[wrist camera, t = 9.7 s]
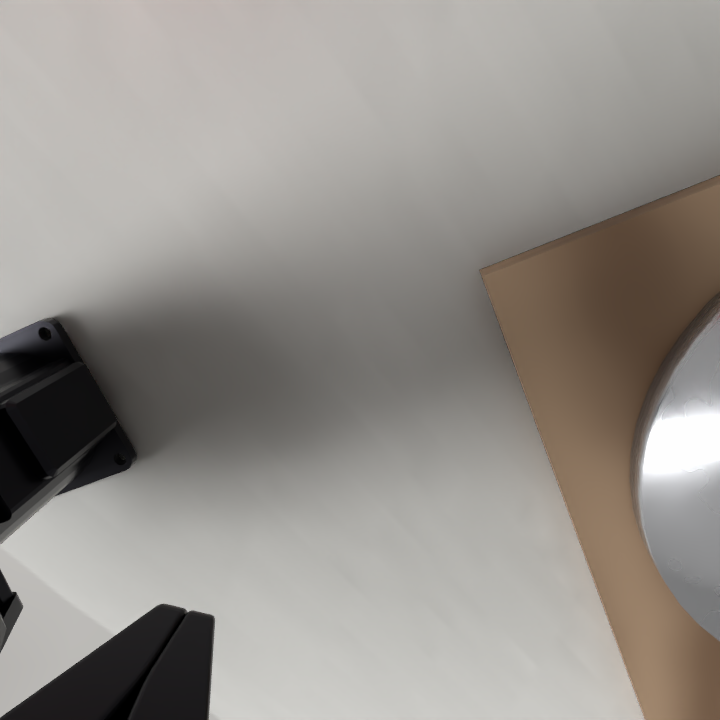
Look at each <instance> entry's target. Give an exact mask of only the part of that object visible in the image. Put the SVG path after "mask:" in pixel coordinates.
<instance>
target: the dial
mask: <svg viewBox="0 0 720 720" xmlns="http://www.w3.org/2000/svg"><path fill="white" fill-rule="evenodd" d="M629 483H630V491H631V500H632V508H633V512H634V516H635V519H636V523H637V526H638V530H639V533H640V536H641V538H642V540H643V542H644V545H645V547H646V549H647V551H648V553H649V555H650V557H651V559H652V561H653V563H654V564H655V566H656V568H657V570H658V571H659V573H660V575H661V577H662V578H663V580H664V582H665V583H666V585H667V586H668V588H669V589H670V591H671V592H672V593H673V595H674V596H675V598H676V599H677V601H678V602H679V604H680V605H681V606H682V607H683V608H684V609H685V610H686V611H687V613H688V614H689V615H690V616H691V617H692V618H693V619H694V620H695V621H696V622H697V623H698V624H699V625H700V626H701V627H702V628H703V629H705V630H706V631H707V632H708V633H710V634H711V635H712V636H714V637H715V638H716V639H717V640H719V641H720V291H719V292H718V293H717V294H716V295H715V296H714V297H713V298H712V299H711V300H710V301H708V303H707V304H706V305H705V306H704V307H703V308H702V309H701V311H700V312H699V313H698V314H697V315H696V316H695V318H694V319H693V320H692V321H691V322H690V323H689V325H688V326H687V327H686V328H685V329H684V330H683V332H682V333H681V335H680V336H679V338H678V339H677V341H676V342H675V343H674V345H673V346H672V348H671V349H670V351H669V352H668V354H667V355H666V357H665V358H664V360H663V361H662V363H661V365H660V367H659V369H658V371H657V373H656V375H655V377H654V379H653V381H652V383H651V385H650V387H649V389H648V391H647V393H646V396H645V399H644V402H643V405H642V408H641V411H640V414H639V416H638V419H637V422H636V427H635V432H634V437H633V442H632V448H631V453H630V479H629Z"/></svg>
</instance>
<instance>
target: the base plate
mask: <svg viewBox="0 0 720 720" xmlns="http://www.w3.org/2000/svg"><path fill="white" fill-rule="evenodd" d="M479 271H480V273H481V276H482V279H483V282H484V284H485V287H486V290H487V292H488V295H489V298H490V301H491V303H492V306H493V309H494V311H495V314H496V317H497V320H498V322H499V325H500V328H501V330H502V333H503V336H504V338H505V341H506V344H507V347H508V349H509V352H510V355H511V357H512V360H513V363H514V366H515V368H516V371H517V374H518V376H519V379H520V382H521V385H522V387H523V390H524V393H525V395H526V398H527V401H528V404H529V406H530V409H531V412H532V414H533V417H534V420H535V423H536V425H537V428H538V431H539V433H540V436H541V439H542V442H543V444H544V447H545V450H546V452H547V455H548V458H549V461H550V463H551V466H552V469H553V471H554V474H555V477H556V480H557V482H558V485H559V488H560V490H561V493H562V496H563V499H564V501H565V504H566V507H567V509H568V512H569V515H570V518H571V520H572V523H573V526H574V528H575V531H576V534H577V536H578V539H579V542H580V545H581V547H582V550H583V553H584V555H585V558H586V561H587V564H588V566H589V569H590V572H591V574H592V577H593V580H594V583H595V585H596V588H597V591H598V593H599V596H600V599H601V602H602V604H603V607H604V610H605V612H606V615H607V618H608V621H609V623H610V626H611V629H612V631H613V634H614V637H615V640H616V642H617V645H618V648H619V650H620V653H621V656H622V659H623V661H624V664H625V667H626V669H627V672H628V675H629V678H630V680H631V683H632V686H633V688H634V691H635V694H636V697H637V699H638V702H639V705H640V707H641V710H642V713H643V716H644V718H645V720H720V641H719V640H717V639H716V638H715V637H714V636H712V635H711V634H710V633H708V632H707V631H706V630H705V629H703V628H702V627H701V626H700V625H699V624H698V623H697V622H696V621H695V620H694V619H693V618H692V617H691V616H690V615H689V614H688V613H687V611H686V610H685V609H684V608H683V607H682V606H681V605H680V604H679V602H678V601H677V599H676V598H675V596H674V595H673V593H672V592H671V591H670V589H669V588H668V586H667V585H666V583H665V582H664V580H663V578H662V577H661V575H660V573H659V571H658V570H657V568H656V566H655V564H654V563H653V561H652V559H651V557H650V555H649V553H648V551H647V549H646V547H645V545H644V542H643V540H642V538H641V536H640V533H639V530H638V526H637V523H636V519H635V516H634V512H633V508H632V500H631V491H630V483H629V479H630V453H631V448H632V442H633V437H634V432H635V427H636V422H637V419H638V416H639V414H640V411H641V408H642V405H643V402H644V399H645V396H646V393H647V391H648V389H649V387H650V385H651V383H652V381H653V379H654V377H655V375H656V373H657V371H658V369H659V367H660V365H661V363H662V361H663V360H664V358H665V357H666V355H667V354H668V352H669V351H670V349H671V348H672V346H673V345H674V343H675V342H676V341H677V339H678V338H679V336H680V335H681V333H682V332H683V330H684V329H685V328H686V327H687V326H688V325H689V323H690V322H691V321H692V320H693V319H694V318H695V316H696V315H697V314H698V313H699V312H700V311H701V309H702V308H703V307H704V306H705V305H706V304H707V303H708V301H710V300H711V299H712V298H713V297H714V296H715V295H716V294H717V293H718V292H719V291H720V175H719V176H716V177H714V178H711V179H709V180H706V181H704V182H701V183H699V184H696V185H694V186H691V187H688V188H686V189H683V190H681V191H678V192H676V193H673V194H671V195H668V196H666V197H663V198H661V199H658V200H656V201H653V202H650V203H648V204H645V205H643V206H640V207H638V208H635V209H633V210H630V211H628V212H625V213H623V214H620V215H617V216H615V217H612V218H610V219H607V220H605V221H602V222H600V223H597V224H595V225H592V226H590V227H587V228H585V229H582V230H579V231H577V232H574V233H572V234H569V235H567V236H564V237H562V238H559V239H557V240H554V241H552V242H549V243H547V244H544V245H541V246H539V247H536V248H534V249H531V250H529V251H526V252H524V253H521V254H519V255H516V256H514V257H511V258H508V259H506V260H503V261H501V262H498V263H496V264H493V265H491V266H488V267H486V268H483V269H481V270H479Z"/></svg>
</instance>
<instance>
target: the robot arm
mask: <svg viewBox="0 0 720 720" xmlns="http://www.w3.org/2000/svg"><path fill="white" fill-rule="evenodd" d="M45 328H47V329H49V330H50V332H51V337H49V336H48V335H47V334H46V332H45ZM119 454H122V455H123V456H124V457H125V459H126V460H123V459H121V458H120V457H119ZM136 458H137V455H136V452H135V450H134V448H133V446H132V445H131V443H130V441H129V439H128V438H127V436H126V434H125V433H124V431H123V429H122V428H121V426H120V424H119V422H118V421H117V418H116V416H115V414H114V413H113V411H112V409H111V408H110V406H109V404H108V402H107V401H106V399H105V397H104V396H103V394H102V392H101V391H100V389H99V387H98V385H97V384H96V382H95V380H94V379H93V377H92V375H91V373H90V372H89V370H88V368H87V367H86V365H85V364H84V363H83V361H82V359H81V358H80V356H79V354H78V352H77V351H76V349H75V347H74V346H73V344H72V342H71V340H70V339H69V337H68V335H67V334H66V332H65V330H64V328H63V327H62V325H61V324H60V323H59V322H58V321H56V320H55V319H51V318H47V319H43V320H41V321H38V322H36V323H34V324H31V325H29V326H27V327H25V328H23V329H20V330H18V331H16V332H14V333H12V334H9V335H7V336H5V337H3V338H1V339H0V544H1V543H3V542H4V541H5V540H6V539H7V538H8V537H9V536H10V535H12V534H13V533H14V532H15V531H16V530H17V529H18V528H19V527H21V526H22V525H23V524H24V523H25V522H26V521H27V520H28V519H30V518H31V517H32V516H33V515H34V514H35V513H36V512H37V511H39V510H40V509H41V508H42V507H43V506H44V505H45V504H46V503H48V502H49V501H50V500H51V499H52V498H53V497H54V496H57V495H59V494H62V493H65V492H68V491H70V490H73V489H76V488H79V487H81V486H84V485H87V484H90V483H92V482H95V481H98V480H100V479H103V478H106V477H109V476H111V475H114V474H117V473H120V472H122V471H125V470H127V469H129V468H130V467H131V466H132V465H133V464H134V463H135V461H136ZM22 609H23V605H22V603H21V601H20V599H19V597H18V595H17V593H16V592H12V591H11V589H10V587H9V585H8V583H7V582H6V579H5V577H4V575H3V574H2V572H1V570H0V652H1V650H2V649H3V647H4V645H5V643H6V641H7V639H8V636H9V635H10V632H11V630H12V629H13V626H14V625H15V622H16V621H17V619H18V617H19V615H20V613H21V611H22ZM214 629H215V618H214V616H213V615H210V614H205V613H201V612H197V611H189V612H188V613H187V611H186V609H184V608H180V607H176V606H172V605H168V604H160V605H158V606H156V607H155V608H153V609H152V610H151V611H149V612H148V613H146V614H145V615H144V616H142V617H141V618H139V619H138V620H137V621H135V622H134V623H132V624H131V625H130V626H128V627H127V628H125V629H124V630H123V631H121V632H120V633H118V634H117V635H116V636H114V637H113V638H111V639H110V640H109V641H107V642H106V643H104V644H103V645H102V646H100V647H99V648H97V649H96V650H94V651H93V652H92V653H90V654H89V655H88V656H86V657H85V658H83V659H82V660H80V661H79V662H78V663H76V664H75V665H73V666H72V667H71V668H69V669H68V670H66V671H65V672H64V673H62V674H61V675H60V676H58V677H57V678H55V679H54V680H52V681H51V682H50V683H48V684H47V685H45V686H44V687H43V688H41V689H40V690H39V691H37V692H36V693H34V694H33V695H31V696H30V697H29V698H27V699H26V700H24V701H23V702H22V703H20V704H19V705H17V706H16V707H15V708H13V709H12V710H11V711H9V712H8V713H6V714H5V715H3V716H2V717H1V718H0V720H209V706H210V691H211V675H212V660H213V644H214Z"/></svg>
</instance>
